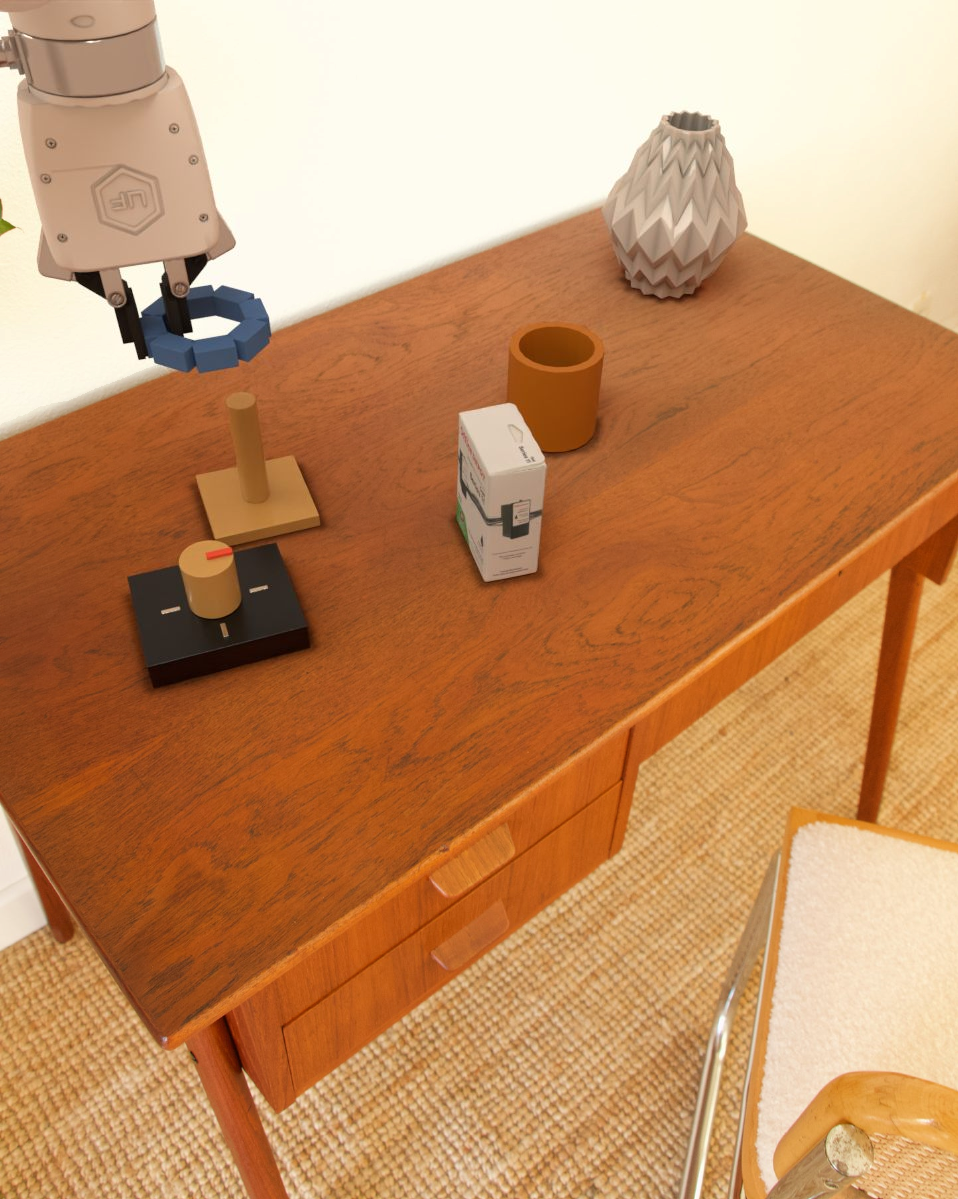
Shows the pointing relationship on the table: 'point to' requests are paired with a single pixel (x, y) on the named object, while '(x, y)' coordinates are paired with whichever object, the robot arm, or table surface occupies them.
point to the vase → (676, 207)
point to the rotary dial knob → (210, 579)
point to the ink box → (500, 491)
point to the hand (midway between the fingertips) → (159, 343)
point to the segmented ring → (212, 350)
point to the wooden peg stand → (254, 486)
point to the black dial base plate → (218, 620)
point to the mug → (556, 382)
